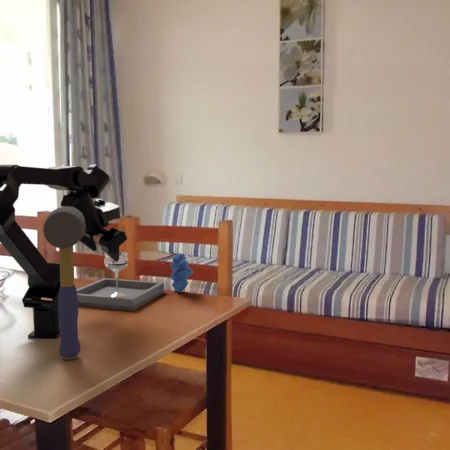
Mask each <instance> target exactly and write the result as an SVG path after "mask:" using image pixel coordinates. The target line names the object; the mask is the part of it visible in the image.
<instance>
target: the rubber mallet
mask: <svg viewBox="0 0 450 450" xmlns="http://www.w3.org/2000/svg"><path fill="white" fill-rule="evenodd" d="M85 228H86V223H85V218H84V216H83V214H82V213H81V212H80V211H79V210H78V209H76V208H74V207H69V206H65V207H62V206H60V207H58V208H55V209H54V210H52V211H51V212H50V213H49V214H48V215H47V217H46V219H45V222H44V224H43V229H42V231H43V237H44V238H45V240H46V242H48V243H49V244H50V245H51V246H52V247H55V248H57V249H59V263H60V289H59V299H58V312H59V319H60V329H61V334H60V343H59V348H58V349H59V354H60V356H61V358H62V360H69V361H70V360H74V359H77V358H78V355H79V354H80V352H81V344H80V341H79V332H78V331H79V330H78V329H79V327H78V323H79V321H78V320H79V319H78V318H79V306H78V297H77V287H76V285H75V275H74V274H75V273H74V255H73V254H74V249H73V246H75V245H76V244H78V242H80V241H79V240H80V239H81V238H82V237H83V235H84V233H85Z"/></svg>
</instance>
